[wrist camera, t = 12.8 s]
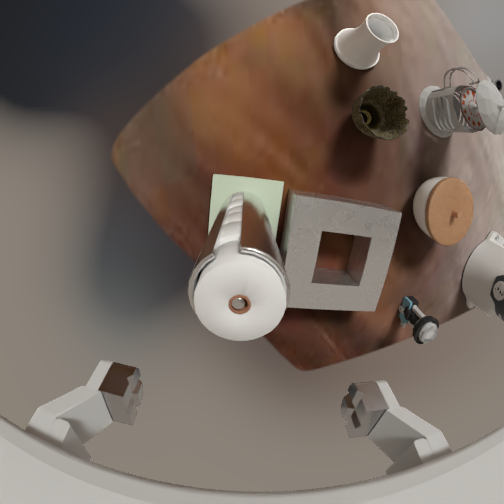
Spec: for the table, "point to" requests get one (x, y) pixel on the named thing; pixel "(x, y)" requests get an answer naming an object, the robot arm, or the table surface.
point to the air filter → (240, 273)
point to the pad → (260, 187)
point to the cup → (380, 113)
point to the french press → (462, 108)
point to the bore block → (361, 257)
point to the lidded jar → (443, 209)
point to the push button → (418, 321)
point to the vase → (365, 41)
